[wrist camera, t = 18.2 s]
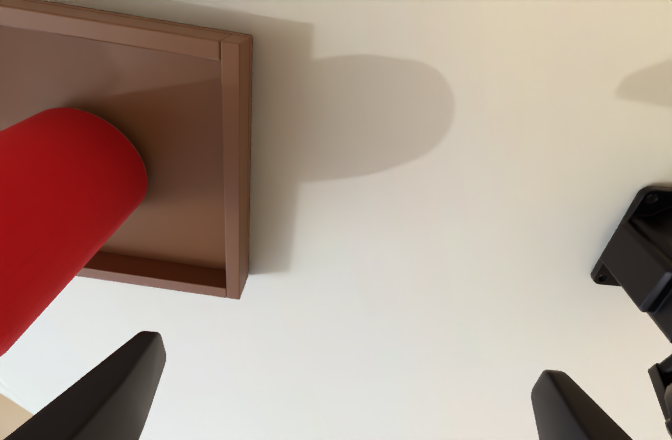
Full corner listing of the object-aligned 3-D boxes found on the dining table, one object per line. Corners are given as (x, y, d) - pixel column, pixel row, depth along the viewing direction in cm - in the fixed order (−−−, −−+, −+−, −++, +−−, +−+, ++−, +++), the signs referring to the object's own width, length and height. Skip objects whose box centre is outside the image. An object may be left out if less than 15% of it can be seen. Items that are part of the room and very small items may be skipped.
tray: (253, 35, 17) (240, 44, 16) (248, 275, 26) (239, 299, 24) (-126, -28, 17) (-185, -26, 15) (-7, 237, 25) (-37, 259, 23)
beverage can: (8, 133, 20) (-340, 302, 10) (94, 80, 18) (-228, 224, 8) (96, 224, 23) (-106, 423, 13) (178, 186, 21) (14, 386, 11)
